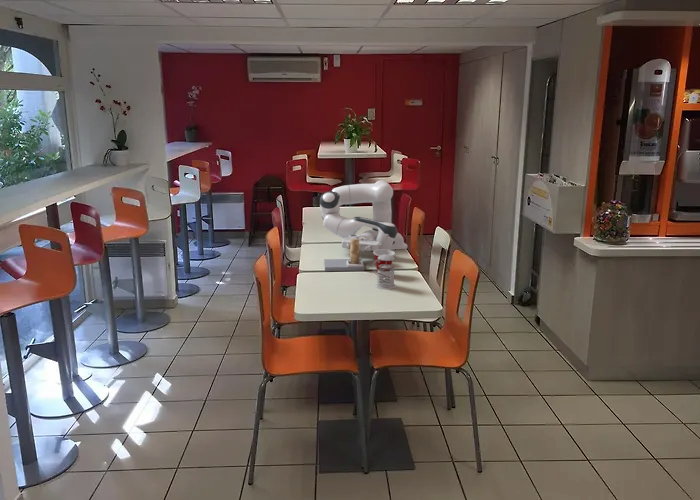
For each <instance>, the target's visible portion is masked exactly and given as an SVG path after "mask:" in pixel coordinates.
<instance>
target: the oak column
mask: <svg viewBox="0 0 700 500" xmlns="http://www.w3.org/2000/svg"><path fill="white" fill-rule="evenodd" d="M349 250H350V251H349V254H350V258H349V259H350V264H359V259H360V250H359V239H351V240H350V249H349Z"/></svg>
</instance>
